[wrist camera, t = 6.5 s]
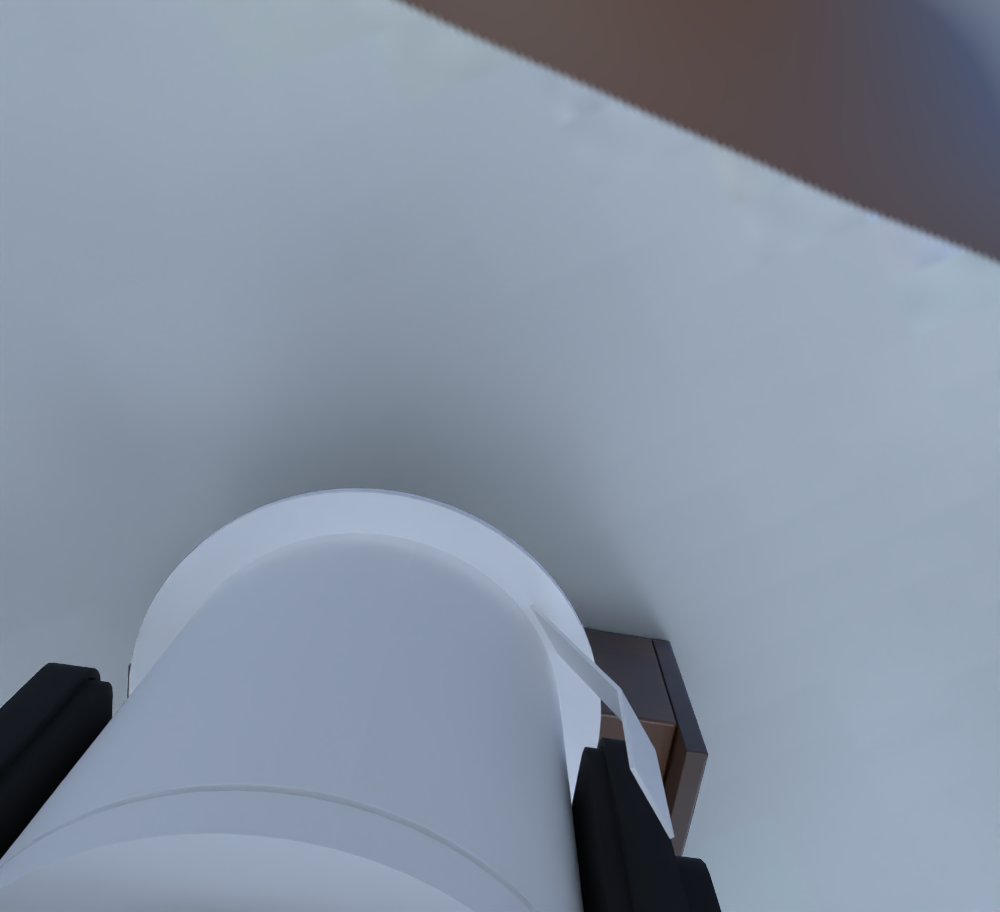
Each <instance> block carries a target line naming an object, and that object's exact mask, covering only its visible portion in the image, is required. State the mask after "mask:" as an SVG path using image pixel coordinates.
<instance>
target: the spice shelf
mask: <svg viewBox="0 0 1000 912" xmlns="http://www.w3.org/2000/svg"><path fill="white" fill-rule="evenodd" d="M584 630H585V633H586V636H587V638H588V641H589V644H590V646H591V649H592V653H593V657H594V661H595V664H596V665H597V666H598V667H599V668H600V669H601V670H602V671H603V672H604V673H605V674H606V675H607V676H608V677H610V678H611V679H612V680H613V681H614V682H615V683H616V684H617V685H618V686H619V687H620V688H621V689H622V691H623V693H624V695H625V697H626V698H627V700H628V702H629V704H630V706H631V707H632V709H633V711H634V713H635V714H636V716H637V718H638V720H639V722H640V723H641V725H642V727H643V729H644V731H645V732H646V734H647V736H648V738H649V740H650V741H651V743H652V745H653V747H654V748H655V750H656V754H657V759H658V764H659V768H660V773H661V777H662V782H663V787H664V791H665V796H666V800H667V805H668V810H669V814H670V819H671V824H672V828H673V833H674V837H673V838H671V841H672V845H673V849H674V853H675V856H681V857H682V855H683V851H684V847H685V843H686V839H687V836H688V832H689V828H690V824H691V820H692V816H693V812H694V808H695V804H696V800H697V796H698V793H699V789H700V785H701V781H702V777H703V773H704V769H705V765H706V761H707V757H708V752H707V749H706V746H705V743H704V741H703V738H702V735H701V732H700V729H699V726H698V723H697V720H696V717H695V714H694V711H693V708H692V706H691V703H690V700H689V697H688V694H687V691H686V688H685V685H684V682H683V679H682V676H681V674H680V671H679V668H678V665H677V662H676V659H675V656H674V653H673V650H672V647H671V644H670V642H669V641H663V640H656V639H653V640H650V639H646V638H640V637H633V636H627V635H621V634H614V633H608V632H601V631H595V630H588V629H584ZM130 667H131V664H130V665H129V671H128V694H127V699H128V697H129V674H130ZM602 737H604V738H611V739H618V740H625V736H624V730H623V724H622V721H621V720H620V719H619V718H618V717H617V716H616V715H615V713H614V712H613V711H612V710H611V709H610V708H609V707H608V706H607V705H606V704H605V703H604V702H603V701H602V700H601V722H600V733H599V740H598V744H599V742H600V739H601V738H602ZM597 748H598V745H597Z"/></svg>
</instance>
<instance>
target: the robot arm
mask: <svg viewBox="0 0 1000 912" xmlns="http://www.w3.org/2000/svg"><path fill="white" fill-rule="evenodd" d="M112 699H113V692H112V686H111V684H110V683H109V682H103V681H101V680H100V675H99V672H98V670H96V669H95V668H88V667H81V666H73V665H66V664H59V663H48V664H47V665H45V666H44V667H42V668H41V669H40V670H39V671H38V672H37V673H36V674H35V675H34V676H33V677H32V678H31V679H30V680H29V681H28V682H27V683H26V684H25V685H24V686H23V687H22V688H21V689H20V690H19V691H18V692H17V693H16V694H15V695H14V696H13V697H12V698H11V699H10V700H9V701H7V702H6V703H5V704H4V705H3V706H2V707H1V708H0V860H1V858H2V857H3V856H4V855H5V853H6V852H7V851H8V850H9V848H10V847H11V846H12V844H13V843H14V842H15V841H16V839H17V838H18V837H19V836H20V834H21V833H22V832H23V830H24V829H25V828H26V827H27V825H28V824H29V823H30V822H31V820H32V819H33V818H34V817H35V815H36V814H37V813H38V811H39V810H40V809H41V808H42V806H43V805H44V804H45V803H46V801H47V800H48V799H49V798H50V796H51V795H52V794H53V792H54V791H55V790H56V789H57V787H58V786H59V785H60V784H61V782H62V781H63V780H64V779H65V777H66V776H67V775H68V773H69V772H70V771H71V770H72V768H73V767H74V766H75V765H76V763H77V762H78V761H79V760H80V758H81V757H82V756H83V754H84V753H85V752H86V751H87V749H88V748H89V747H90V746H91V744H92V743H93V742H94V740H95V739H96V738H97V737H98V735H99V734H100V733H101V732H102V730H103V729H104V728H105V727H106V725H107V724H108V723H109V721H110V720H111V719H112ZM572 812H573V821H574V829H575V838H576V847H577V856H578V864H579V873H580V882H581V890H582V899H583V908H584V912H721V909H720V906H719V903H718V899H717V896H716V893H715V890H714V887H713V883H712V880H711V877H710V874H709V871H708V869H707V867H706V864H705V863H704V862H703V861H702V860H701V859H697V858H689V857H681V856H675V853H674V849H673V845H672V841H671V839H670V838H669V836H668V835H667V833H666V831H665V829H664V828H663V826H662V824H661V822H660V821H659V819H658V817H657V815H656V814H655V812H654V810H653V808H652V807H651V805H650V803H649V801H648V800H647V798H646V796H645V794H644V793H643V791H642V789H641V787H640V786H639V784H638V782H637V780H636V779H635V777H634V775H633V773H632V772H631V770H630V766H629V760H628V754H627V748H626V742H625V740H618V739H611V738H604V737H602V738H601V739H600V742H599V744H598V748H591V747H585V748H584V750H583V752H582V756H581V761H580V766H579V771H578V776H577V781H576V786H575V791H574V796H573V801H572Z"/></svg>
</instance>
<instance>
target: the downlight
mask: <svg viewBox="0 0 1000 912" xmlns="http://www.w3.org/2000/svg"><path fill="white" fill-rule="evenodd" d="M601 700H602V701H603V702H604V703H605V704H606V705H607V706H608V707H609V708H610V709H611V710H612V711H613V712H614V713H615V715H616V716H617V717H618V718H619V719H620V720H621V721H622V724H623V730H624V736H625V742H626V748H627V754H628V760H629V766H630V770H631V772H632V773H633V775H634V777H635V779H636V780H637V782H638V784H639V786H640V787H641V789H642V791H643V793H644V794H645V796H646V798H647V800H648V801H649V803H650V805H651V807H652V808H653V810H654V812H655V814H656V815H657V817H658V819H659V821H660V822H661V824H662V826H663V828H664V829H665V831H666V833H667V835H668V836H669V838H670V839H671V838H673V837H674V833H673V828H672V824H671V819H670V814H669V810H668V805H667V800H666V796H665V791H664V787H663V782H662V777H661V773H660V768H659V764H658V759H657V754H656V750H655V748H654V747H653V745H652V743H651V741H650V740H649V738H648V736H647V734H646V732H645V731H644V729H643V727H642V725H641V723H640V722H639V720H638V718H637V716H636V714H635V713H634V711H633V709H632V707H631V706H630V704H629V702H628V700H627V698H626V697H625V695H624V693H623V691H622V689H621V688H620V687H619V686H618V685H617V684H616V683H615V682H614V681H613V680H612V679H611V678H610V677H608V676H607V675H606V674H605V673H604V672H603V671H602V670H601V669H600V668H599V667H598V666H597V665H596V664H595V661H594V657H593V653H592V649H591V646H590V644H589V641H588V638H587V636H586V633H585V630H584V628H583V626H582V624H581V622H580V620H579V618H578V616H577V614H576V612H575V610H574V608H573V606H572V605H571V603H570V602H569V600H568V598H567V597H566V595H565V594H564V592H563V591H562V589H561V588H560V587H559V585H558V584H557V583H556V582H555V580H554V579H553V578H552V577H551V575H550V574H549V573H548V572H547V571H546V570H545V569H544V568H543V567H542V566H541V565H540V563H539V562H538V561H537V560H536V559H535V558H534V557H533V556H532V555H530V554H529V553H528V552H527V551H526V550H525V549H523V548H522V547H521V546H520V545H519V544H518V543H516V542H515V541H514V540H512V539H511V538H509V537H508V536H507V535H505V534H504V533H502V532H501V531H499V530H498V529H497V528H495V527H493V526H491V525H490V524H488V523H486V522H484V521H483V520H481V519H479V518H477V517H475V516H473V515H471V514H469V513H467V512H464V511H462V510H460V509H458V508H455V507H453V506H451V505H448V504H445V503H442V502H439V501H436V500H433V499H430V498H426V497H422V496H417V495H413V494H409V493H404V492H397V491H390V490H383V489H366V488H346V489H329V490H322V491H315V492H308V493H304V494H300V495H296V496H292V497H288V498H284V499H281V500H278V501H275V502H272V503H269V504H266V505H264V506H261V507H259V508H257V509H255V510H252V511H250V512H248V513H246V514H244V515H242V516H240V517H238V518H236V519H235V520H233V521H231V522H230V523H228V524H226V525H225V526H223V527H221V528H220V529H219V530H217V531H216V532H215V533H213V534H212V535H211V536H209V537H208V538H207V539H205V540H204V541H203V542H202V543H201V544H199V545H198V546H197V547H196V548H195V549H194V550H193V551H192V552H191V553H190V554H189V555H188V556H187V557H186V558H185V559H184V560H183V561H182V562H181V563H180V564H179V565H178V567H177V568H176V569H175V570H174V571H173V572H172V574H171V575H170V576H169V577H168V578H167V580H166V581H165V583H164V584H163V586H162V587H161V588H160V590H159V591H158V593H157V594H156V596H155V598H154V600H153V601H152V603H151V605H150V607H149V609H148V611H147V613H146V615H145V617H144V620H143V622H142V625H141V627H140V630H139V632H138V635H137V639H136V643H135V646H134V650H133V654H132V660H131V667H130V674H129V697H128V699H127V700H126V701H125V702H124V704H123V705H122V706H121V708H120V709H119V710H118V711H117V713H116V714H115V715H114V716H113V718H112V719H111V720H110V721H109V723H108V724H107V725H106V727H105V728H104V729H103V730H102V732H101V733H100V734H99V735H98V737H97V738H96V739H95V740H94V742H93V743H92V744H91V746H90V747H89V748H88V749H87V751H86V752H85V753H84V754H83V756H82V757H81V758H80V760H79V761H78V762H77V763H76V765H75V766H74V767H73V768H72V770H71V771H70V772H69V773H68V775H67V776H66V777H65V779H64V780H63V781H62V782H61V784H60V785H59V786H58V787H57V789H56V790H55V791H54V792H53V794H52V795H51V796H50V798H49V799H48V800H47V801H46V803H45V804H44V805H43V806H42V808H41V809H40V810H39V811H38V813H37V814H36V815H35V817H34V818H33V819H32V820H31V822H30V823H29V824H28V825H27V827H26V828H25V829H24V830H23V832H22V833H21V834H20V836H19V837H18V838H17V839H16V841H15V842H14V843H13V844H12V846H11V847H10V848H9V850H8V851H7V852H6V853H5V855H4V856H3V857H2V858H1V860H0V912H584V908H583V899H582V890H581V882H580V873H579V864H578V856H577V847H576V838H575V829H574V821H573V812H572V801H573V796H574V791H575V786H576V781H577V776H578V771H579V766H580V761H581V756H582V752H583V750H584V748H585V747H591V748H597V745H598V740H599V733H600V722H601Z"/></svg>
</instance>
